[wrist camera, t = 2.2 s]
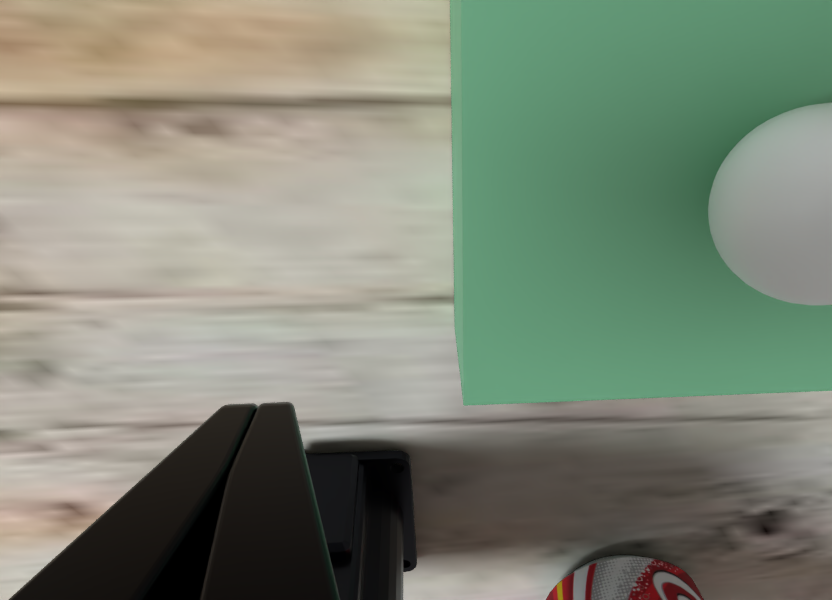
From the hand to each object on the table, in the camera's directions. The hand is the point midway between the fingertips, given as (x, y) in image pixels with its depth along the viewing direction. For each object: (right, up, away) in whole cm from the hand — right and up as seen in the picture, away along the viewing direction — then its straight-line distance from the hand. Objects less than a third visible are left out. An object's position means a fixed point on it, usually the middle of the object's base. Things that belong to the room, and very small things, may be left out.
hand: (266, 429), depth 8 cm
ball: (+10, +4, +7) cm, 13 cm away
